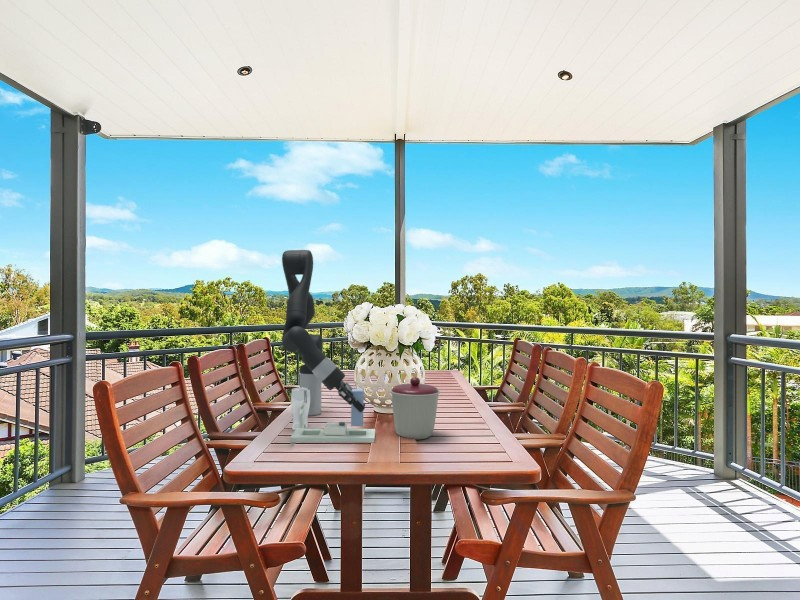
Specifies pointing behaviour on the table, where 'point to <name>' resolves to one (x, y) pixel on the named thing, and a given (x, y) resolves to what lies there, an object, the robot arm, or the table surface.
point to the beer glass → (300, 407)
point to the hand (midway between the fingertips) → (363, 408)
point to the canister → (414, 409)
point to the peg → (355, 414)
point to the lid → (335, 428)
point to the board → (332, 436)
